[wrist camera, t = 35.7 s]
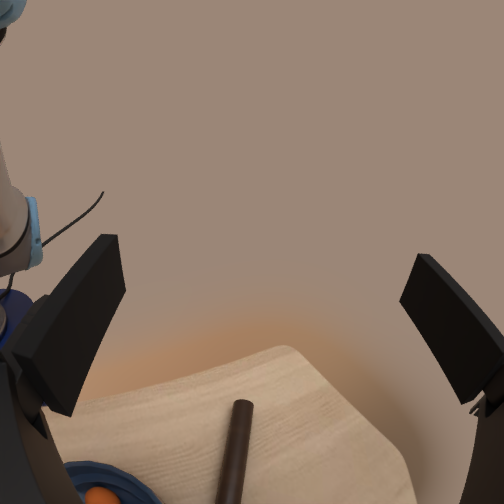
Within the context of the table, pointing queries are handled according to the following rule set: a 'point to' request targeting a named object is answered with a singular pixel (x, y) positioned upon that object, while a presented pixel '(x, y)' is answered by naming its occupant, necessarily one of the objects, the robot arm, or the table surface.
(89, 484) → the bowl
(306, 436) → the table surface
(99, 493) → the ball
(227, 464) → the stick
